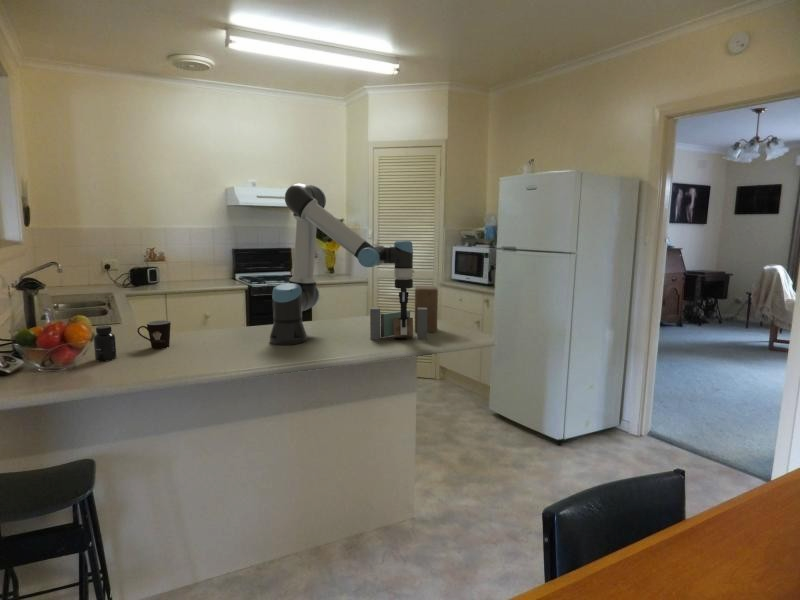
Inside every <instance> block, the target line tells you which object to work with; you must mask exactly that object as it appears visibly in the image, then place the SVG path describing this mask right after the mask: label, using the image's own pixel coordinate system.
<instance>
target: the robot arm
mask: <svg viewBox="0 0 800 600" xmlns="http://www.w3.org/2000/svg"><path fill="white" fill-rule="evenodd" d="M284 201H285V202H284V203H285V205H286V206H287V208H288V209H289V210H290V212H292V213H293V215H292V216H293V217H294V219H295V220H296V222H295V223H296V226H295V239H294V240H295V243H294V258H293V271H292V273H293V275H292V276H291V277H290V278H289V279H288V280H289V282H288V283H284V284H282V283H281V284H279V285H276V286H274V287H273V289H272V295H271V297H272V313H273V314H272V316H273V324H272V328H271V331H270V335H269V343H271V344H273V345H277V346H279V345H280V346H290V345H292V346H293V345H299V344H302V343H306V342H307V341H308V334H307V331H306V329H305V326H304V323H303V312H304V311H308V310H310V309H312V308H313V307H315V306H316V305H317V303H318V301H319V298H320V291H319V288H317V280H316V279H315V278H314V268H315V267H314V266H315V255H316V242H317V241H316V240H317V229H318V230H320V231H321V232H322V233H324V234H325V235H327V236H328V237H329V238H330V239H332V240H333V241H334V242H335V243H336V244H338V245H339V246H341V248H343V249H345V250H346V251H347V252H348V253H350V254H351V255H352V256H354V257H355V258H356V259H357V260H358V263H359V264H360V265H361V266H363V267H364V268H374V267H376V266H379V265H391V264H392V265H393V264H394V268H393V269H394V271H393V272H394V273H393V274H394V275H393V276H394V278H395V279H394V288H395V289H398V290H400V291H399V292H398V298H399V304H400V311H401V317H400V318H399V320H401V335H407V319H408V318H409V317H407V310H408V307H407V306H408V302H409V291H407V289H408V290H409V289H412V288H413V287H414V281H413V280H414V279H413V277H414V275H413V274H414V273H415V270H414V269H413V267H414V266H413V265H414V264H413V262H414V249H413V248H414V247H413V242H412V241H410V240H395V241H394V245H376V244H374V245H372V244H370V243H369V242H368V241H367V240H366V239H364V238H363V237H361V236H360V235H359V234H358V233H356V232H355V231H354V230H353V229H351V228H350V227H349V226H347V225H346V224H344V223H343V222H342V221H341V220H340V219H338V218H337V217H336V216H334V215H333V214H331V213H330V212H329V211H328V210H326V209H325V207H326V203H327V198H326V195H325V192H324V191H323V190H322V189H321V188H320V187H318V186H315V185H312V184H305V183H295V184H292V185H290V186H288V188H287V189H286V191H285V194H284Z"/></svg>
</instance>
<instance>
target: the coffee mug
mask: <svg viewBox="0 0 800 600" xmlns="http://www.w3.org/2000/svg"><path fill="white" fill-rule="evenodd" d="M171 325H172V323H171V321H170V320H164V319H163V320H162V319H161V320H153V321H152V320H151V321H148V322H146V325H141V326H139V327H138V328H137V333H138V335H139V336H140V337H142V338H144V339H146V340H147V341H149V342H150V345H151V349H152V348H153V350H161V348H164V349H168V348H170V342H171ZM143 328H144V329H146V331H147V332H148V336H149V338H148V337H146V336H145V335H143V334H142V333H140V329H143ZM167 347H168V348H167Z"/></svg>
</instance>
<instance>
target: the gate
mask: <svg viewBox="0 0 800 600" xmlns="http://www.w3.org/2000/svg"><path fill="white" fill-rule="evenodd" d="M400 317H401V310H400V311H393V312H384V313H380V338H387V337H392V336H393V337H394V318H400ZM407 317H409V318H411V311H410V310H409V309H407Z"/></svg>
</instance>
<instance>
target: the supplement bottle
mask: <svg viewBox="0 0 800 600" xmlns="http://www.w3.org/2000/svg"><path fill="white" fill-rule="evenodd" d="M112 332H113V330H112V326H111V325H99V326H96V327H95V333H96V334H95V335H94V336H93V350H94V359H95V361H97V360H99V361H98V362H107V361H106V360H110V361H113V360H112V359H114V360H115V359H116V358H117V342H116V335H115V333H112Z"/></svg>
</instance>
